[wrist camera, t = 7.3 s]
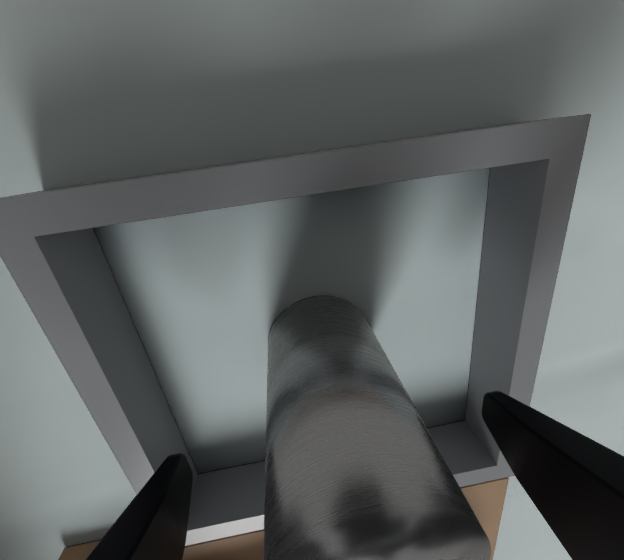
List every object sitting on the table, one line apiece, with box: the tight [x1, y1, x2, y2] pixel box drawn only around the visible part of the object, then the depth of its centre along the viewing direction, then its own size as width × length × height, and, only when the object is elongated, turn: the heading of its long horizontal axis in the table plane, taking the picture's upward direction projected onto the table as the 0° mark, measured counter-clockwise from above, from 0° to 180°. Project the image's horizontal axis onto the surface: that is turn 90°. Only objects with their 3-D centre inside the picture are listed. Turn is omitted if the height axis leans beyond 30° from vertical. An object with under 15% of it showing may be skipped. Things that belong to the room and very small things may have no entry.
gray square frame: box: [0, 114, 591, 546], centre depth 12 cm, size 16×15×2 cm
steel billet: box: [263, 296, 491, 560], centre depth 9 cm, size 4×4×8 cm
